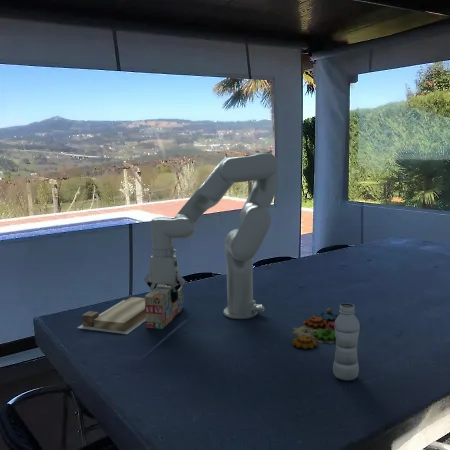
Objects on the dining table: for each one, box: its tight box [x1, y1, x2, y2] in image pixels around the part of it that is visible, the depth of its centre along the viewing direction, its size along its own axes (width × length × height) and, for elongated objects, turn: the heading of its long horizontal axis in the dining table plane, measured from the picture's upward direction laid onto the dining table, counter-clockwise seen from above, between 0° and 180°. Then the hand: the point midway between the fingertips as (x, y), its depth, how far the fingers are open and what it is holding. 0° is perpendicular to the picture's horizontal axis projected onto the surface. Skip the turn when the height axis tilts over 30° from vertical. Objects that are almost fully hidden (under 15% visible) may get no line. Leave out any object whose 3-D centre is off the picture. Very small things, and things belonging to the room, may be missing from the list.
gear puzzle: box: [291, 308, 338, 350], centre depth 150 cm, size 31×16×4 cm, turn 141°
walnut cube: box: [81, 310, 100, 327], centre depth 160 cm, size 4×4×4 cm
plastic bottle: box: [332, 302, 361, 381], centre depth 119 cm, size 6×7×20 cm
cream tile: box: [76, 299, 146, 335], centre depth 168 cm, size 20×30×1 cm, turn 161°
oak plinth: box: [94, 296, 146, 332], centre depth 166 cm, size 12×25×3 cm, turn 161°
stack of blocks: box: [144, 284, 185, 330], centre depth 164 cm, size 21×6×12 cm, turn 166°
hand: (165, 300), depth 164 cm, fingers open, 6 cm apart
